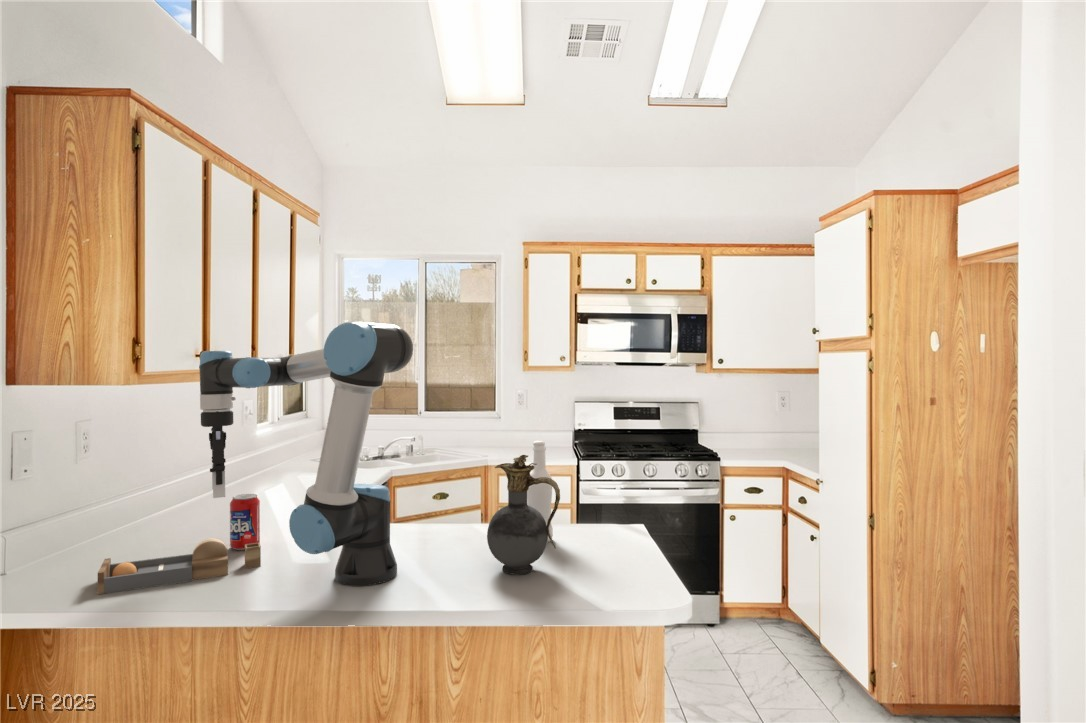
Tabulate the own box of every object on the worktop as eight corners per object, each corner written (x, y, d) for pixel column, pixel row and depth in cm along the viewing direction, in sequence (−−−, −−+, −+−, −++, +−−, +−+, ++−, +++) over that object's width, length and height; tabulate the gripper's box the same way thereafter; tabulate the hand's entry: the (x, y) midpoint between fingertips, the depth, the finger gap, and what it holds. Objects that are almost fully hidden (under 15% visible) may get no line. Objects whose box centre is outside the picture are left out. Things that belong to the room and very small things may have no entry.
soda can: (265, 544, 186) (265, 493, 186) (246, 552, 179) (246, 499, 179) (243, 542, 188) (243, 492, 188) (223, 550, 181) (223, 498, 181)
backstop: (103, 593, 148) (103, 572, 148) (97, 594, 148) (97, 573, 148) (110, 578, 158) (110, 558, 158) (104, 578, 158) (104, 558, 158)
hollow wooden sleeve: (260, 566, 167) (260, 546, 167) (245, 568, 166) (245, 548, 166) (259, 562, 171) (259, 542, 171) (244, 564, 169) (244, 544, 169)
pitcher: (495, 561, 172) (495, 450, 172) (564, 566, 168) (564, 453, 167) (482, 574, 161) (482, 457, 161) (555, 581, 157) (555, 460, 157)
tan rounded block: (227, 574, 161) (227, 543, 161) (191, 579, 157) (191, 547, 157) (226, 563, 170) (226, 533, 170) (192, 567, 166) (192, 537, 166)
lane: (191, 580, 157) (191, 566, 157) (103, 593, 148) (103, 578, 148) (192, 566, 167) (192, 553, 167) (110, 578, 158) (110, 564, 158)
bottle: (556, 542, 189) (557, 442, 189) (531, 545, 186) (531, 443, 186) (546, 535, 197) (546, 438, 196) (522, 538, 194) (522, 440, 193)
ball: (127, 561, 153) (106, 575, 151) (140, 577, 154) (119, 591, 152) (129, 555, 157) (108, 569, 155) (142, 570, 159) (122, 584, 157)
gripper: (235, 412, 155) (237, 499, 155) (231, 407, 177) (232, 483, 177) (200, 414, 151) (202, 503, 151) (200, 408, 173) (202, 486, 173)
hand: (218, 492), depth 164 cm, fingers open, 13 cm apart
